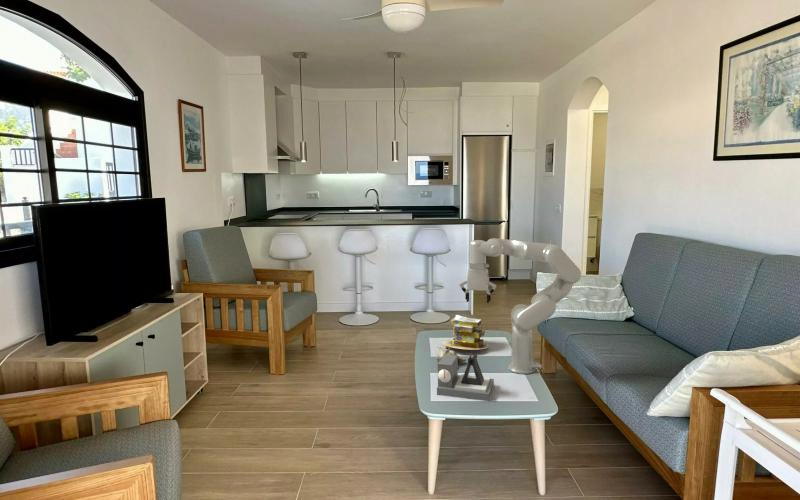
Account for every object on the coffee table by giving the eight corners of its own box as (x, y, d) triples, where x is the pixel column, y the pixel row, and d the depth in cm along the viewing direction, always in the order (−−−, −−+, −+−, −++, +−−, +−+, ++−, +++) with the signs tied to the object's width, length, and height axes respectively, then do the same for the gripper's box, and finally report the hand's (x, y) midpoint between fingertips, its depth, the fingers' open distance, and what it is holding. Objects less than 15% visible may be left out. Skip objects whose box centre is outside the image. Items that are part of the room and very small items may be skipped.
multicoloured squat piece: (455, 338, 275) (454, 310, 273) (495, 344, 262) (495, 315, 259) (434, 350, 255) (433, 320, 253) (476, 359, 241) (476, 327, 239)
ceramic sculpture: (442, 341, 244) (467, 348, 234) (442, 356, 245) (466, 365, 236) (430, 347, 236) (455, 355, 226) (430, 363, 237) (454, 372, 228)
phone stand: (484, 380, 205) (484, 353, 204) (481, 385, 200) (481, 358, 198) (463, 377, 208) (463, 351, 207) (460, 383, 203) (460, 356, 201)
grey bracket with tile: (494, 385, 209) (494, 357, 208) (488, 401, 194) (488, 370, 193) (445, 379, 217) (445, 352, 215) (436, 394, 202) (436, 365, 200)
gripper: (497, 265, 222) (497, 301, 225) (461, 264, 228) (461, 299, 230) (495, 268, 215) (495, 304, 218) (458, 267, 221) (458, 302, 223)
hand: (478, 301), depth 224 cm, fingers open, 9 cm apart
